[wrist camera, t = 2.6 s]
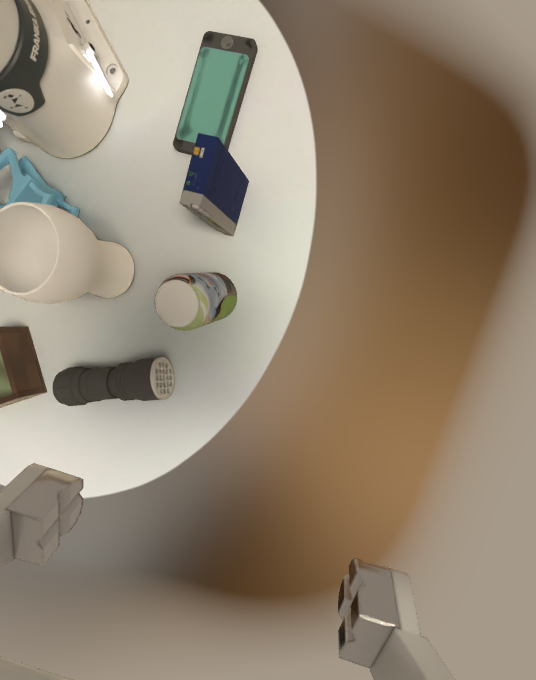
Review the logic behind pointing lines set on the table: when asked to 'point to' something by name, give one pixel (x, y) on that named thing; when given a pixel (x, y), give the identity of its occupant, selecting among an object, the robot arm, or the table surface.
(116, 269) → the cup
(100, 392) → the flashlight
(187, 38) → the table surface
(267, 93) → the table surface
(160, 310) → the beverage can
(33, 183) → the chair
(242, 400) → the table surface
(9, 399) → the can holder
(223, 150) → the blue rectangular block
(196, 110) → the smartphone
